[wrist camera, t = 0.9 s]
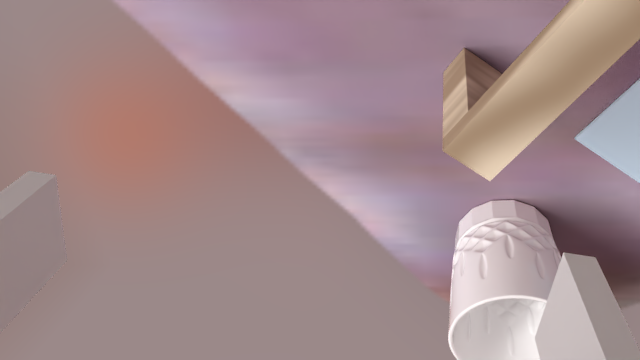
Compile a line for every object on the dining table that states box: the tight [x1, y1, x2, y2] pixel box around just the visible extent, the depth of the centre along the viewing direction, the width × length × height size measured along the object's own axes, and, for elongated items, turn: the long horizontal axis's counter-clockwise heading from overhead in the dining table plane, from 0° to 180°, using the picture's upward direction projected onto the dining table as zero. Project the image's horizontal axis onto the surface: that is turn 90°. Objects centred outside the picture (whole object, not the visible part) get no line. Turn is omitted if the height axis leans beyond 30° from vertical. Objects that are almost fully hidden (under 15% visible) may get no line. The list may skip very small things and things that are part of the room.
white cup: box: [448, 200, 561, 360], centre depth 40 cm, size 8×8×10 cm
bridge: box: [443, 0, 640, 181], centre depth 30 cm, size 3×14×9 cm, turn 149°
